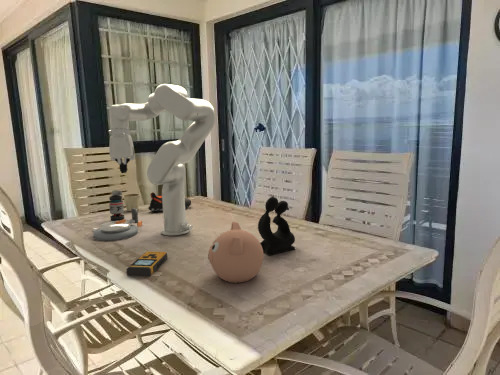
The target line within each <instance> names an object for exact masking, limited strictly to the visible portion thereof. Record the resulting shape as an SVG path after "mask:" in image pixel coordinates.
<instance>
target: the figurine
mask: <svg viewBox="0 0 500 375" xmlns="http://www.w3.org/2000/svg"><path fill="white" fill-rule="evenodd" d="M264 206H265V212H264V213H263V214H262V216H260V218H259V220H258V223H257V230H258V233H259V235H260V237H261V238H262V241H261V242H260V244H261V246H262V249H263V253H265V254H266V255H268V256H271V255H274V254H275V255H276V254H279V253H284V252H288V251H293V250H292V249H294V250H296V249H295V248H296V247H295V246H293V245H294V243H295V241H296V237H295V235H294V233H293V232H291V229H290V228H291V227H290V225H289V223H288V221H287V220H286V219H285V218H283V216H281V215H282V214H283V213H285V212H287V211H290V208H289V202H287V201H286V200H280V201H279V200H278V198H277V197H275V196H271V197H269V198H268V199H267V200H266V202H265V205H264ZM273 211H274V213H275V214H276V215H275V216H274V217H273V219H272V218H271V217H270V213H271V212H273ZM271 220H272V223H274V224H275V225H276V226H277V229H276V230H275V232H273V231H272V228H271Z"/></svg>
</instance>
